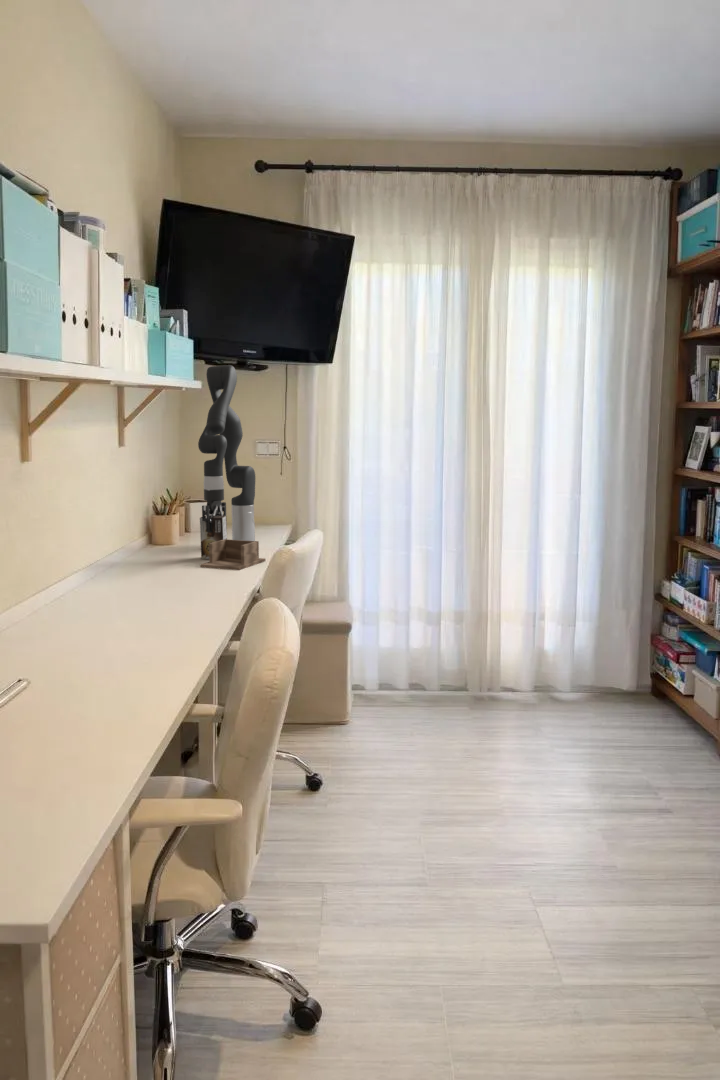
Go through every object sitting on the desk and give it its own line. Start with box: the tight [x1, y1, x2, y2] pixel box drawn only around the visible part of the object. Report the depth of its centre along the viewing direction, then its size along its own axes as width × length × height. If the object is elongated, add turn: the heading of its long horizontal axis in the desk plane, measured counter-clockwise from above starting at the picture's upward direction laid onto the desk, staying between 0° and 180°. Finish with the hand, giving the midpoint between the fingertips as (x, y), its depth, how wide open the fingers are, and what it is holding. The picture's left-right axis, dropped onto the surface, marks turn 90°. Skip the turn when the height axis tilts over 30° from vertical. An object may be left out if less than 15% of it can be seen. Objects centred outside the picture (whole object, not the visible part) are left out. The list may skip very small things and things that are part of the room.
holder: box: [199, 538, 266, 571], centre depth 330 cm, size 20×16×8 cm
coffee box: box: [199, 515, 228, 560], centre depth 342 cm, size 9×6×16 cm
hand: (214, 530), depth 342 cm, fingers closed on coffee box, 7 cm apart
